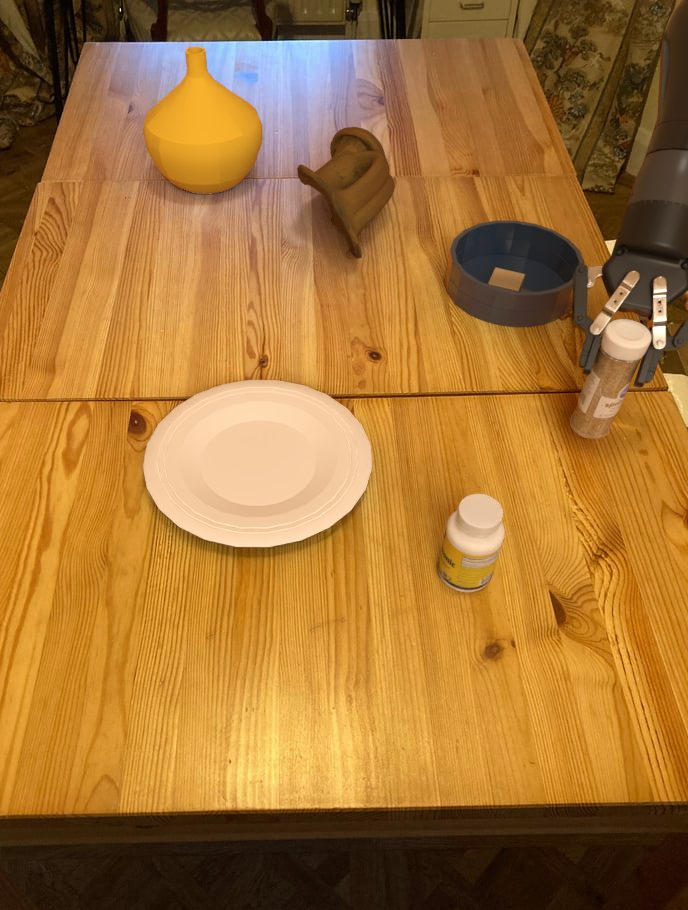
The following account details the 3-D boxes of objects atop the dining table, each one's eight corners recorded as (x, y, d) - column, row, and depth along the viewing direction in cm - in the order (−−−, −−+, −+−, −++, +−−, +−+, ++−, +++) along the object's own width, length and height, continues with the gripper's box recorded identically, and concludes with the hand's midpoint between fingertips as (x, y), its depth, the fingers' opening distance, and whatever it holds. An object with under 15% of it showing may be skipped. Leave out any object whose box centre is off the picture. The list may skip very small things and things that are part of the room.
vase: (136, 203, 120) (112, 71, 105) (169, 147, 131) (152, 22, 117) (250, 214, 118) (243, 82, 103) (274, 157, 129) (270, 30, 115)
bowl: (558, 255, 111) (568, 220, 107) (585, 331, 100) (597, 295, 96) (438, 254, 111) (444, 219, 107) (452, 330, 100) (459, 294, 96)
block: (489, 292, 105) (495, 267, 101) (518, 299, 104) (525, 274, 101) (482, 309, 102) (487, 283, 99) (511, 316, 101) (518, 290, 98)
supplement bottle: (434, 548, 78) (448, 485, 70) (488, 550, 78) (508, 487, 70) (438, 593, 75) (453, 532, 67) (494, 595, 75) (516, 534, 67)
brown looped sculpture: (235, 185, 109) (321, 104, 117) (269, 263, 118) (347, 182, 126) (336, 187, 98) (423, 96, 106) (365, 273, 107) (444, 183, 115)
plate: (117, 543, 78) (113, 531, 77) (176, 381, 94) (174, 369, 93) (360, 570, 76) (362, 559, 75) (379, 400, 92) (380, 388, 90)
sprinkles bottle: (603, 446, 85) (646, 352, 74) (563, 431, 86) (599, 337, 75) (614, 420, 87) (657, 325, 77) (575, 406, 89) (612, 311, 78)
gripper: (597, 184, 74) (543, 359, 76) (755, 213, 70) (694, 395, 73) (588, 208, 81) (540, 367, 83) (732, 236, 78) (677, 400, 80)
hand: (612, 379), depth 78 cm, fingers closed on sprinkles bottle, 4 cm apart
